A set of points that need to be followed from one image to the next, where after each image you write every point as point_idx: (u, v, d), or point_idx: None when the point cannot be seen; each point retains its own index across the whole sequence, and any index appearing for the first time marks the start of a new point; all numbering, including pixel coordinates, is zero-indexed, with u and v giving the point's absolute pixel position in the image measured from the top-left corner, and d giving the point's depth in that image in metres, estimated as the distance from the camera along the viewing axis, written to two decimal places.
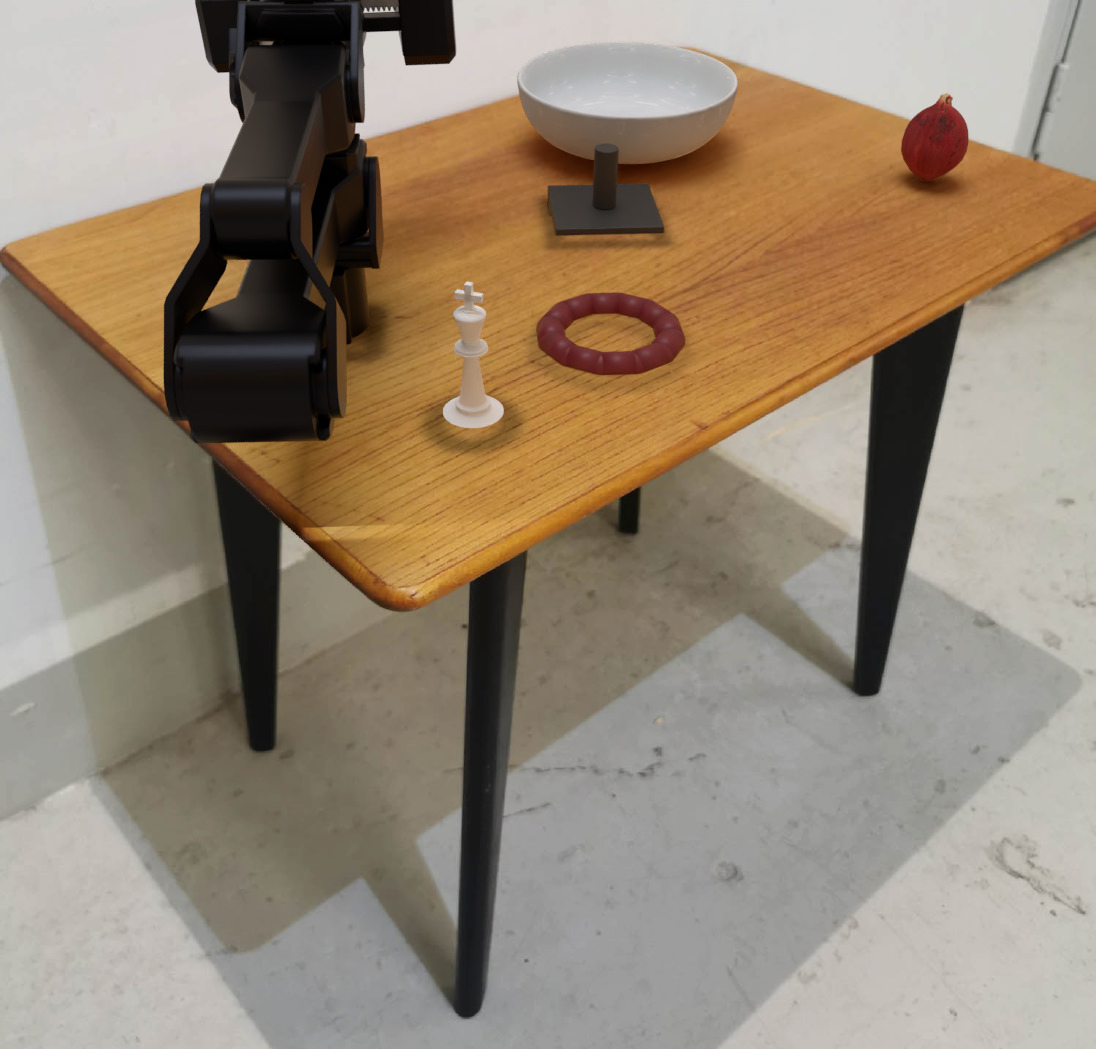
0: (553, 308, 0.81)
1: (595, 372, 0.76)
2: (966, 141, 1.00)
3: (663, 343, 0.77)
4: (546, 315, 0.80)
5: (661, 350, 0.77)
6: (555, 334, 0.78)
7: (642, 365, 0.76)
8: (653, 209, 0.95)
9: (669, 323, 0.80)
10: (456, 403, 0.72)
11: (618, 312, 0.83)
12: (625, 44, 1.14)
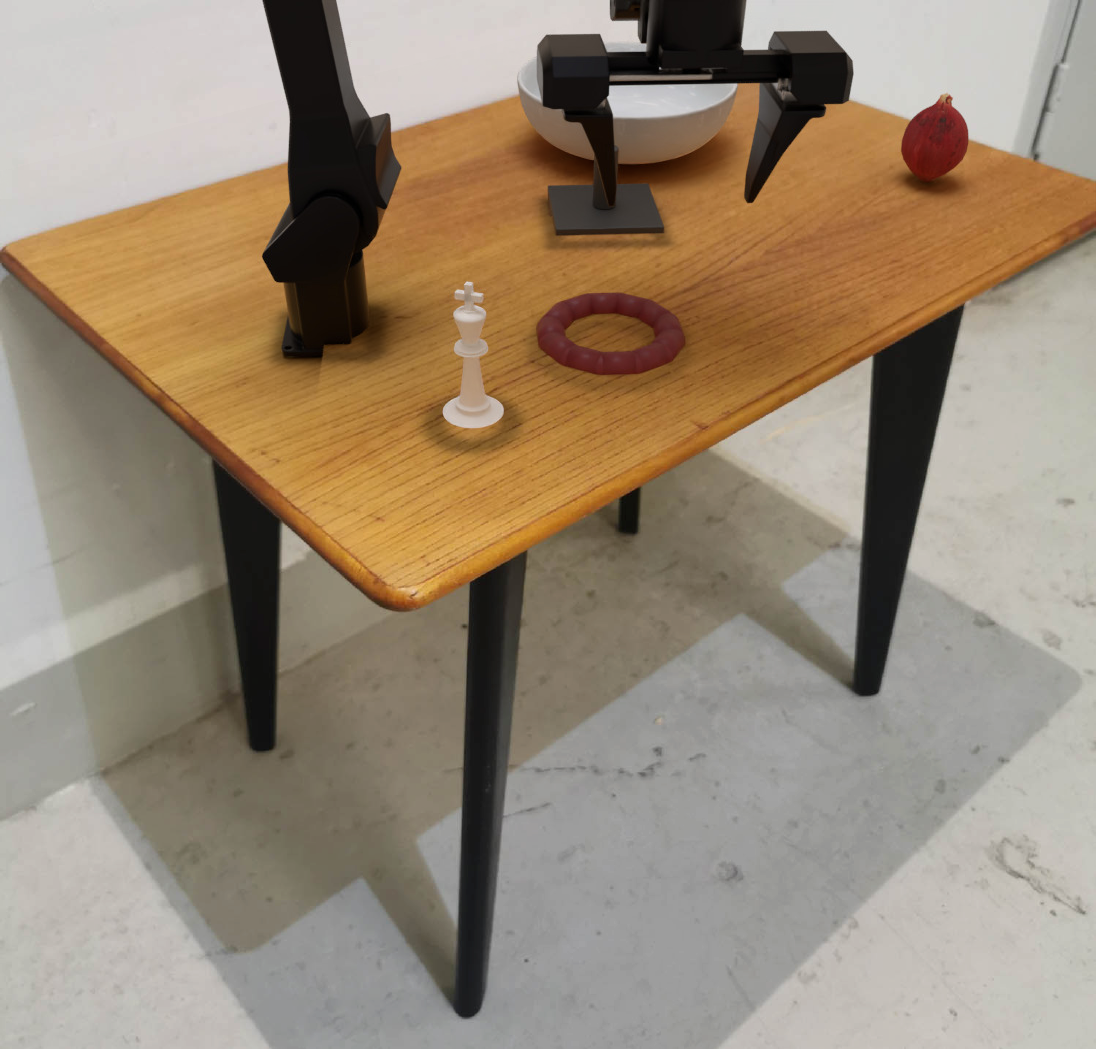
0: (553, 308, 0.81)
1: (595, 372, 0.76)
2: (966, 141, 1.00)
3: (663, 343, 0.77)
4: (546, 315, 0.80)
5: (661, 350, 0.77)
6: (555, 334, 0.78)
7: (642, 365, 0.76)
8: (653, 209, 0.95)
9: (669, 323, 0.80)
10: (456, 403, 0.72)
11: (618, 312, 0.83)
12: (625, 44, 1.14)
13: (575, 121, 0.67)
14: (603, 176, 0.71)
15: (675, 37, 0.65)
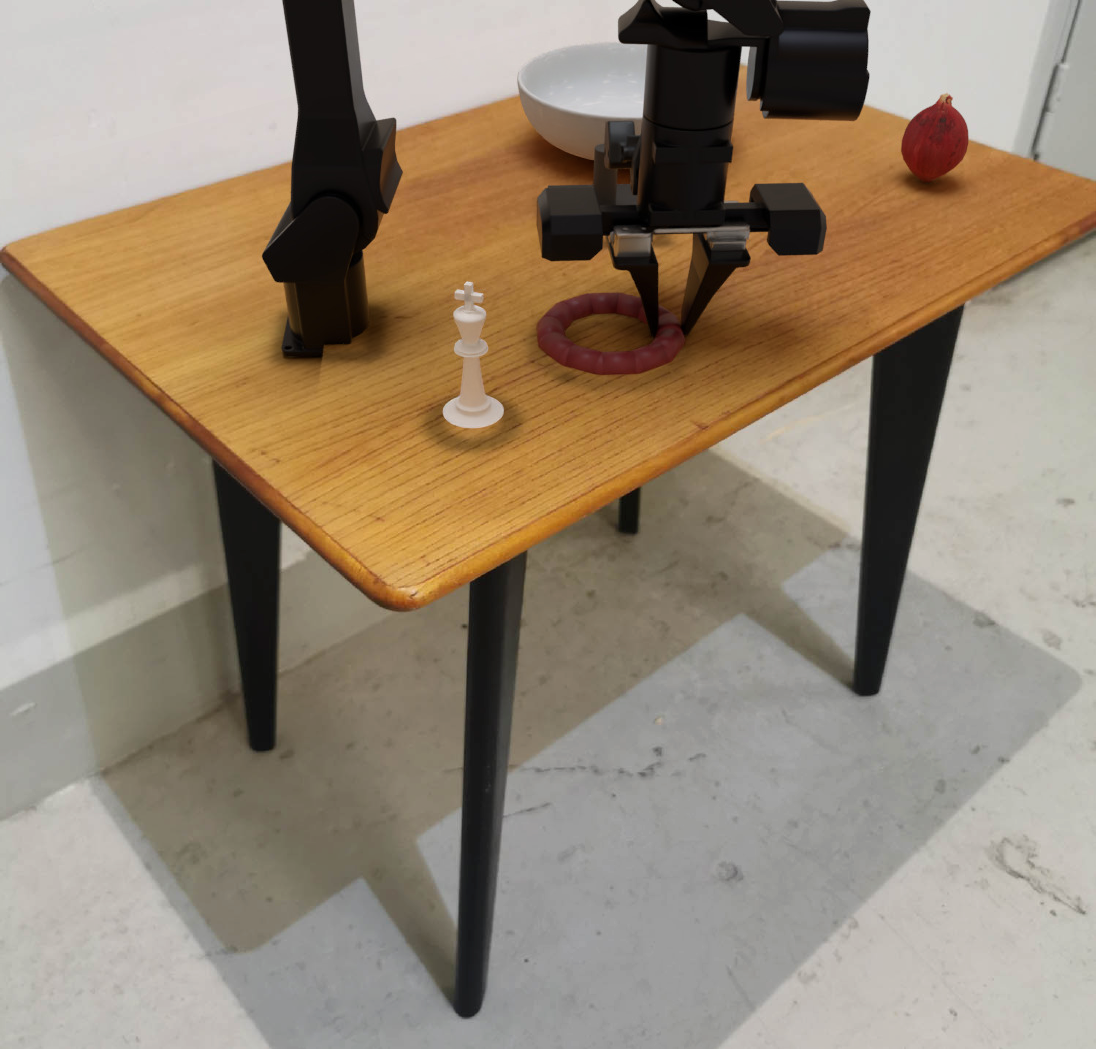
0: (553, 308, 0.81)
1: (595, 372, 0.76)
2: (966, 141, 1.00)
3: (663, 343, 0.77)
4: (546, 315, 0.80)
5: (661, 350, 0.77)
6: (555, 334, 0.78)
7: (641, 365, 0.76)
8: None
9: (668, 323, 0.80)
10: (456, 403, 0.72)
11: (618, 312, 0.83)
12: (625, 44, 1.14)
13: (624, 269, 0.74)
14: (647, 312, 0.78)
15: (663, 198, 0.71)
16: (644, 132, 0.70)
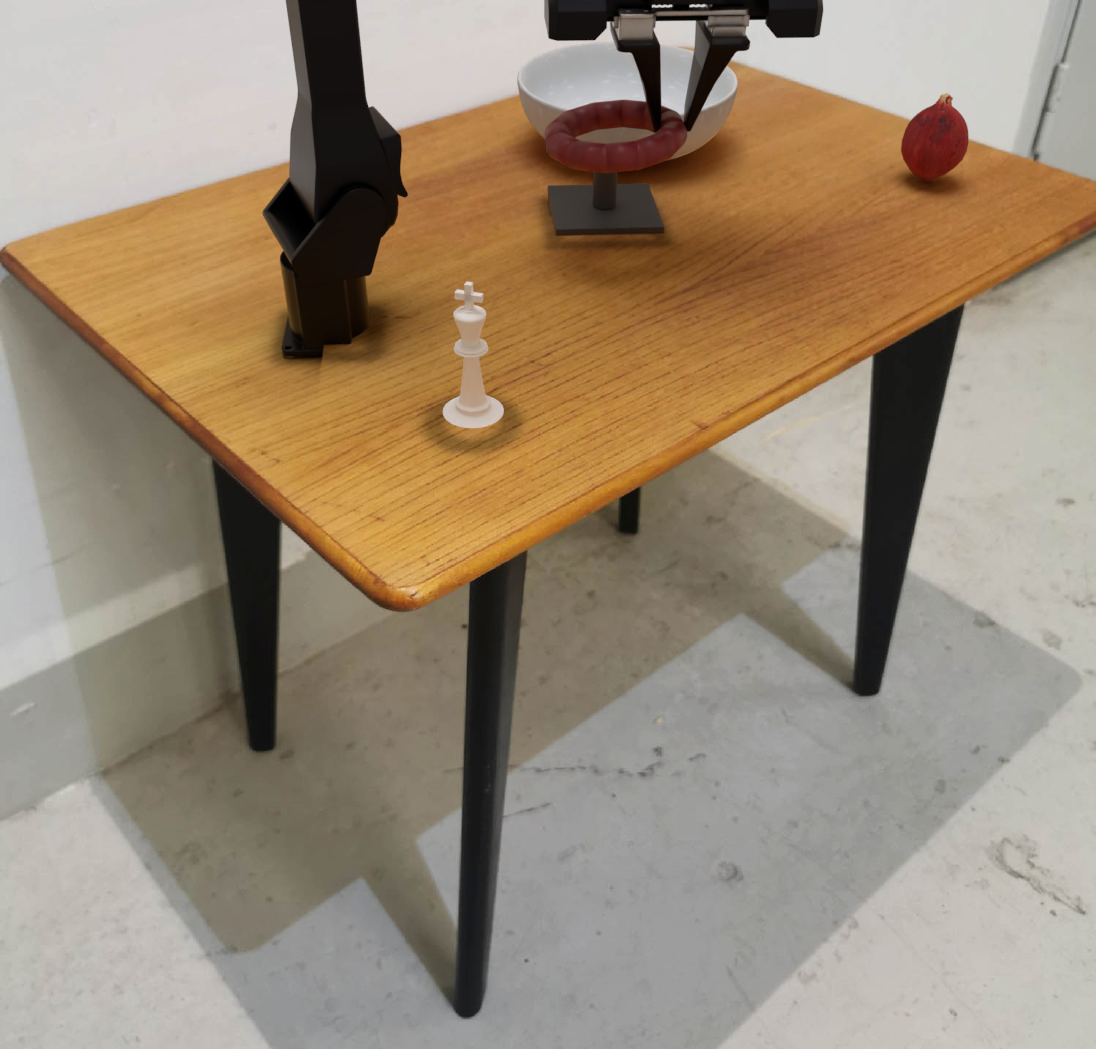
0: (559, 116, 0.85)
1: (599, 162, 0.79)
2: (966, 141, 1.00)
3: (665, 132, 0.80)
4: (553, 121, 0.84)
5: (662, 138, 0.80)
6: (560, 134, 0.82)
7: (644, 152, 0.79)
8: (653, 209, 0.95)
9: (670, 118, 0.82)
10: (456, 403, 0.72)
11: (623, 117, 0.86)
12: None
13: (627, 51, 0.77)
14: (650, 103, 0.81)
15: None
16: None
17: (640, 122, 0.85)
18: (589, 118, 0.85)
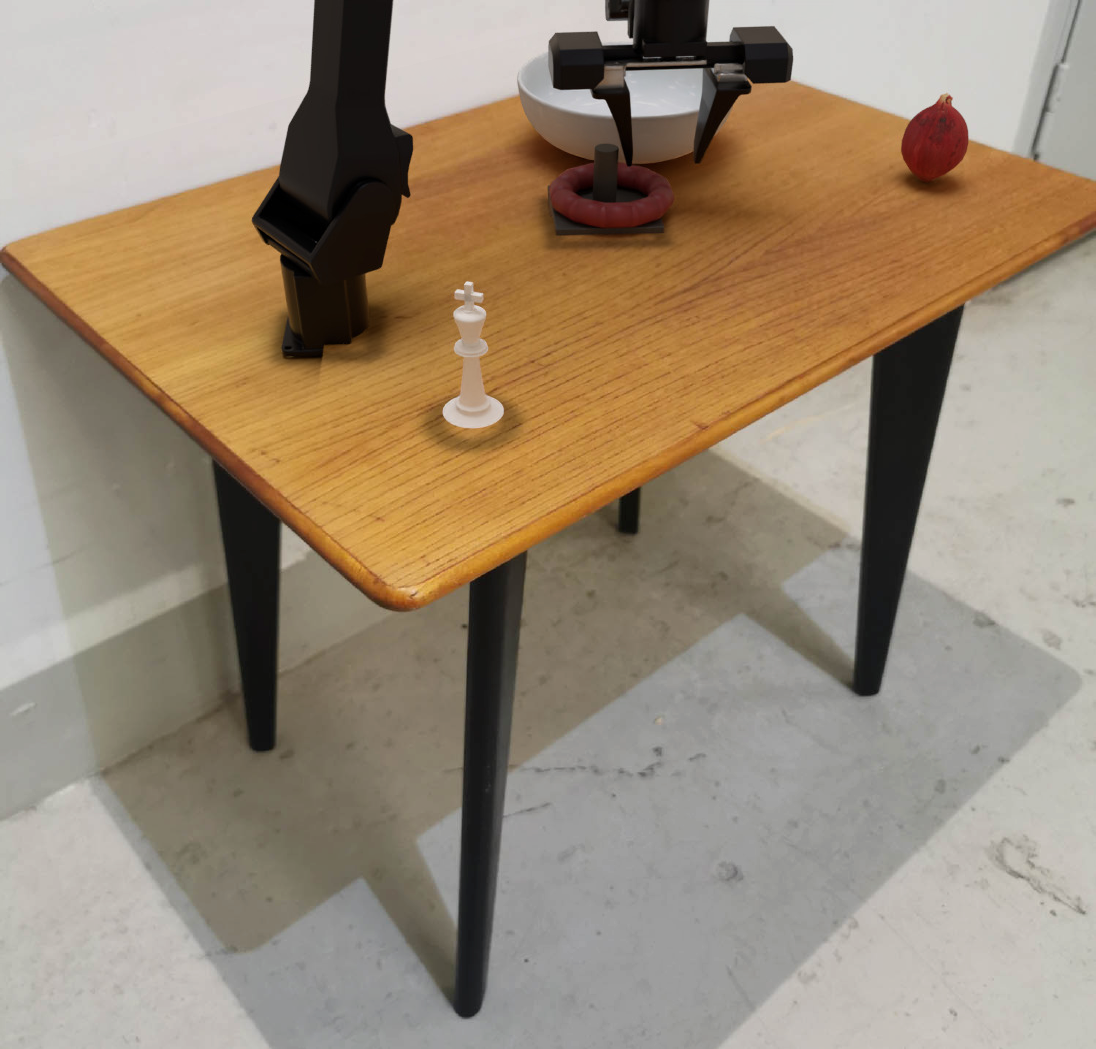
0: (563, 173, 0.96)
1: (599, 219, 0.91)
2: (966, 141, 1.00)
3: (656, 196, 0.93)
4: (558, 178, 0.96)
5: (653, 201, 0.92)
6: (565, 190, 0.93)
7: (638, 213, 0.91)
8: None
9: (660, 183, 0.95)
10: (456, 403, 0.72)
11: (618, 178, 0.98)
12: (625, 44, 1.14)
13: (601, 98, 0.87)
14: (622, 142, 0.91)
15: (654, 33, 0.85)
16: None
17: (633, 184, 0.98)
18: (588, 177, 0.97)
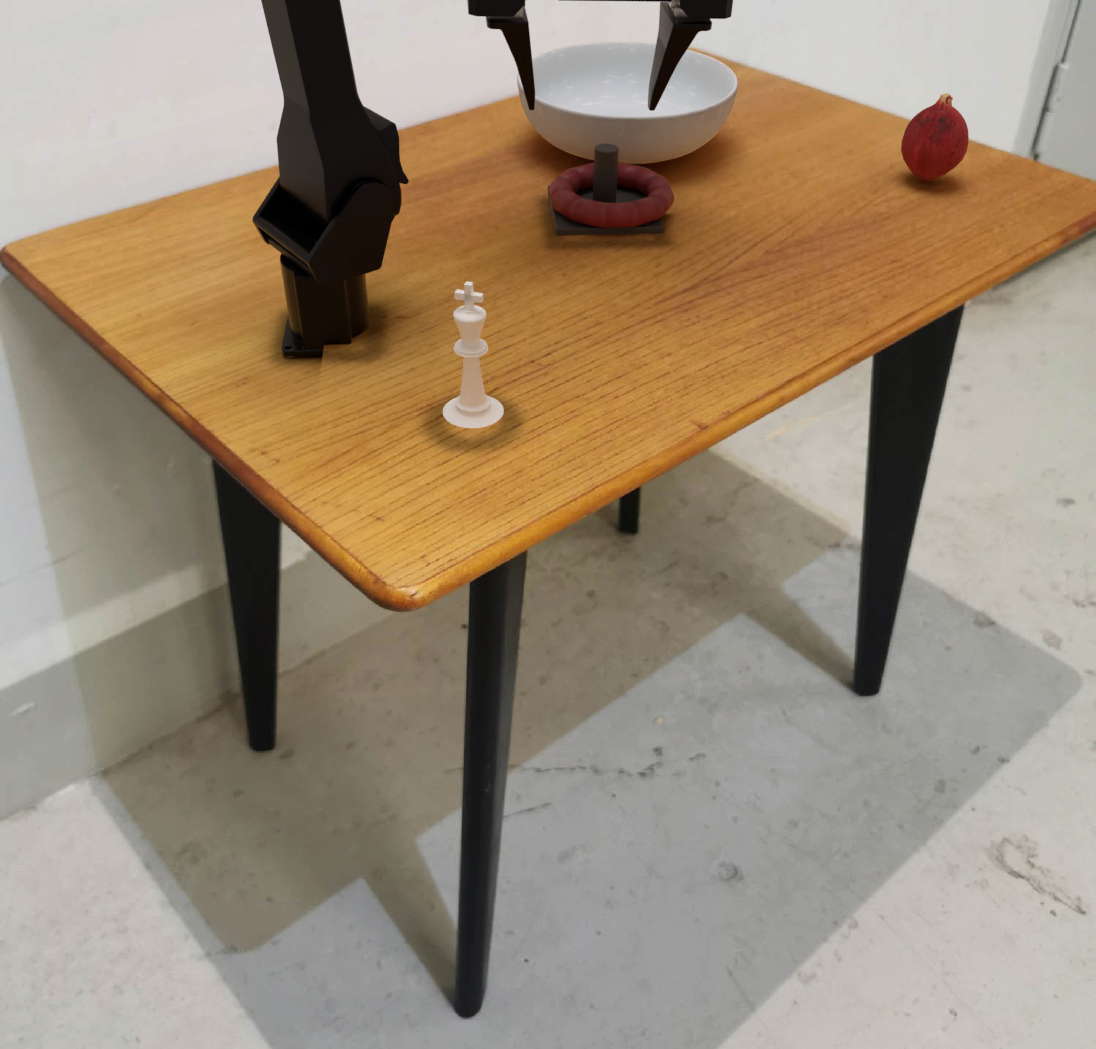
0: (563, 173, 0.96)
1: (599, 219, 0.91)
2: (966, 141, 1.00)
3: (656, 196, 0.93)
4: (558, 178, 0.96)
5: (653, 201, 0.92)
6: (565, 190, 0.93)
7: (638, 213, 0.91)
8: None
9: (660, 183, 0.95)
10: (456, 403, 0.72)
11: (618, 178, 0.98)
12: (625, 44, 1.14)
13: (496, 28, 0.79)
14: (523, 81, 0.83)
15: None
16: None
17: (633, 184, 0.98)
18: (588, 177, 0.97)
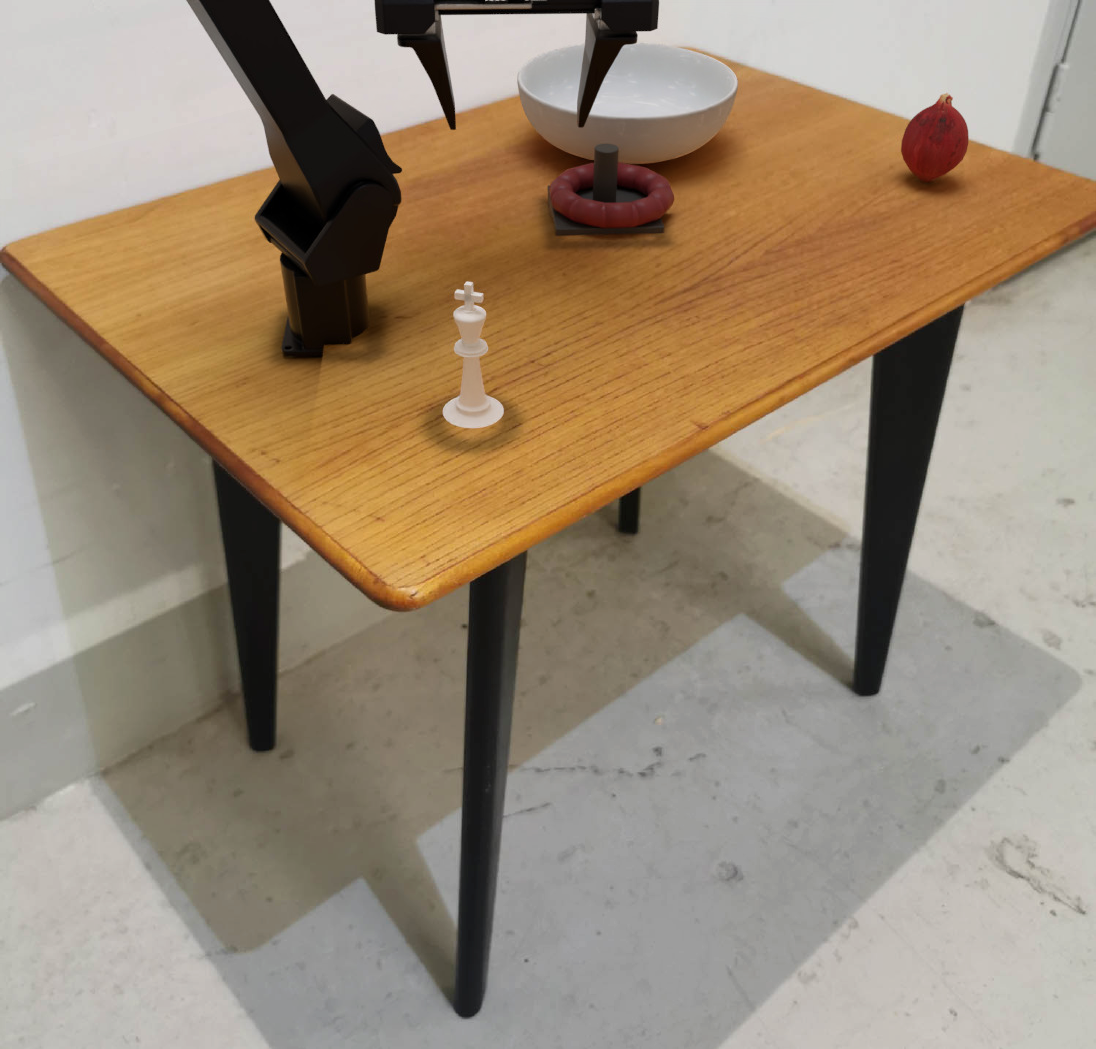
0: (563, 173, 0.96)
1: (599, 219, 0.91)
2: (966, 141, 1.00)
3: (656, 196, 0.93)
4: (558, 178, 0.96)
5: (653, 201, 0.92)
6: (565, 190, 0.93)
7: (638, 213, 0.91)
8: None
9: (660, 183, 0.95)
10: (456, 403, 0.72)
11: (618, 178, 0.98)
12: None
13: (407, 46, 0.74)
14: (441, 100, 0.78)
15: None
16: None
17: (633, 184, 0.98)
18: (588, 177, 0.97)
